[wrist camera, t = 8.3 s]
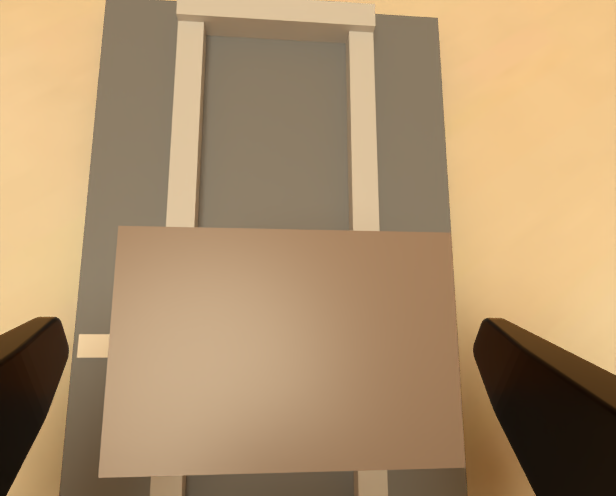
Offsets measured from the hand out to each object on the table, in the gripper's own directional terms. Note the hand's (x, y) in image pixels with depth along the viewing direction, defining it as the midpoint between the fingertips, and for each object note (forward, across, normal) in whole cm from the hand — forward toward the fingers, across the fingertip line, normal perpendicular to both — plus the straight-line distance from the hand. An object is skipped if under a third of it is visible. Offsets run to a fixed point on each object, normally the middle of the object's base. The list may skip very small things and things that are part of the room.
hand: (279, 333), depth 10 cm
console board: (+7, 0, -5) cm, 8 cm away
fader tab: (+5, 0, -5) cm, 7 cm away
